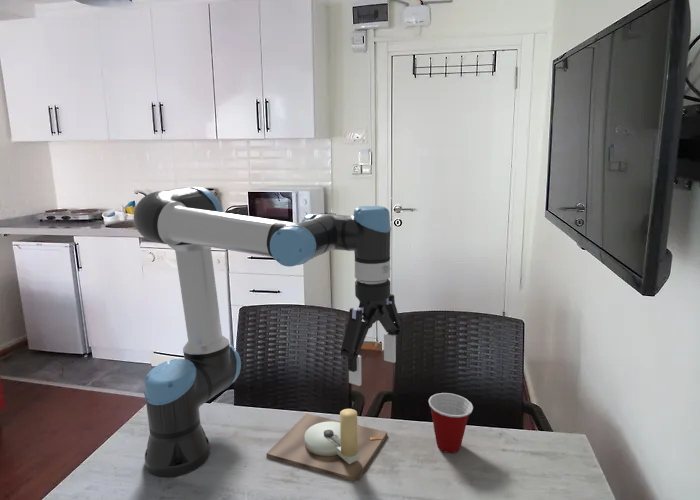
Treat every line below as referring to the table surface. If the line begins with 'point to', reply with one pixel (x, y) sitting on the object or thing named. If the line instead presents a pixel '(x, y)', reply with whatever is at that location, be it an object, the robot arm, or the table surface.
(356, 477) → the base plate
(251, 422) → the table surface
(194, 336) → the robot arm
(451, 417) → the plastic cup
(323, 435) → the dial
